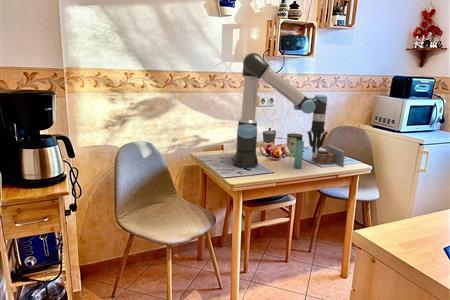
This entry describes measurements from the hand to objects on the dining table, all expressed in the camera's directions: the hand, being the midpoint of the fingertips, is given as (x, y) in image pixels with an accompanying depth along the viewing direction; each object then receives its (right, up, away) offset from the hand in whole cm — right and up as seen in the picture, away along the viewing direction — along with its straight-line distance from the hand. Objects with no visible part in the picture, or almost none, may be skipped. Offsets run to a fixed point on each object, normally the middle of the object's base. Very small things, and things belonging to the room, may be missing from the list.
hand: (314, 157), depth 210 cm
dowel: (-14, -6, -12) cm, 19 cm away
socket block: (+5, -3, +2) cm, 6 cm away
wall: (+13, -3, +3) cm, 14 cm away
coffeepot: (-27, +2, +17) cm, 32 cm away
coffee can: (-10, +1, +16) cm, 19 cm away
